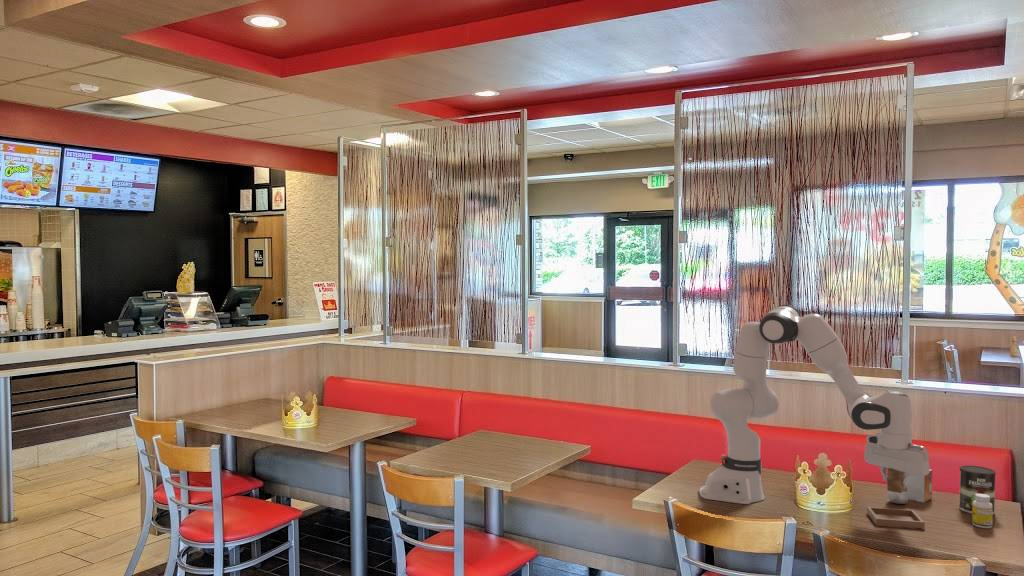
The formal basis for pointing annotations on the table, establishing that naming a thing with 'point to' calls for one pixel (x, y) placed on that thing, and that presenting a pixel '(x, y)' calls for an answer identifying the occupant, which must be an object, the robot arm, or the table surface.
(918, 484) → the small box
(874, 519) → the tray
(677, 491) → the table surface
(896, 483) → the block
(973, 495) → the coffee can
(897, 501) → the plastic bottle
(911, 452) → the robot arm
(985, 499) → the supplement bottle
